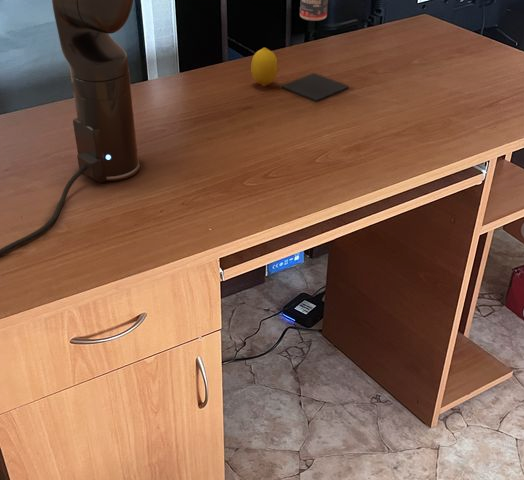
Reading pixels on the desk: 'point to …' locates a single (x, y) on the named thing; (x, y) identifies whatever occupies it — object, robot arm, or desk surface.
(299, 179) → the desk surface
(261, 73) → the lemon
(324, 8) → the pill bottle
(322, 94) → the coaster
